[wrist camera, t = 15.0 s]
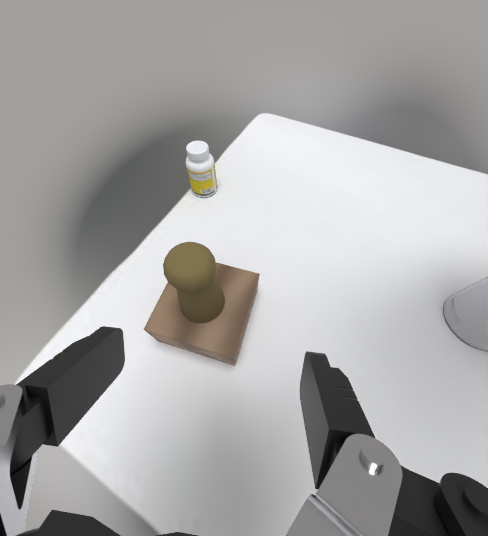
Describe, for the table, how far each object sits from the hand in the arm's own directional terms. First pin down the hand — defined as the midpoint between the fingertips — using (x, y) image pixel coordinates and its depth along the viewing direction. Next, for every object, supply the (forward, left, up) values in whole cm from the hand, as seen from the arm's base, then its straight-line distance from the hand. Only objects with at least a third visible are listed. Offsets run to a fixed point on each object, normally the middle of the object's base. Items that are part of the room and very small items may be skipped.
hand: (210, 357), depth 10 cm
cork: (+7, -9, -20) cm, 23 cm away
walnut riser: (+6, -9, -25) cm, 28 cm away
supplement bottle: (+17, -35, -26) cm, 47 cm away
